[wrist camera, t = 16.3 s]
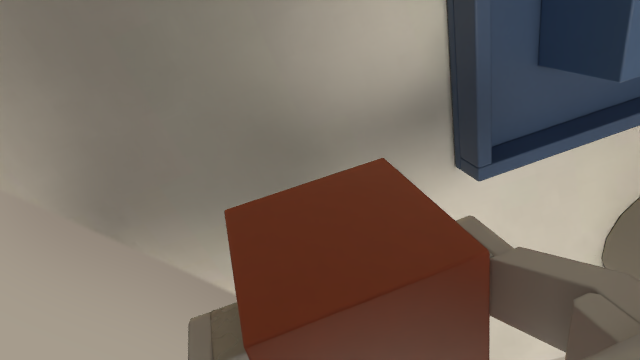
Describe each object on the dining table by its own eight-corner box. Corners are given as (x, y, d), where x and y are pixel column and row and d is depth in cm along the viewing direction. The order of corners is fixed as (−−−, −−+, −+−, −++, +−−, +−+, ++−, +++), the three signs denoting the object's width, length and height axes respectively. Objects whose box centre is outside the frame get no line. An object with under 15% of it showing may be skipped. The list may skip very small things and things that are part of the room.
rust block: (223, 209, 10) (242, 347, 6) (383, 156, 11) (490, 250, 7) (269, 327, 12) (306, 484, 8) (400, 277, 13) (490, 400, 9)
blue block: (542, -33, 18) (639, -40, 14) (624, -55, 18) (738, -68, 15) (537, 66, 20) (620, 83, 16) (610, 43, 21) (707, 55, 17)
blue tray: (439, -136, 15) (472, -154, 14) (713, -194, 17) (773, -216, 16) (455, 166, 22) (478, 182, 20) (654, 98, 24) (692, 107, 22)
